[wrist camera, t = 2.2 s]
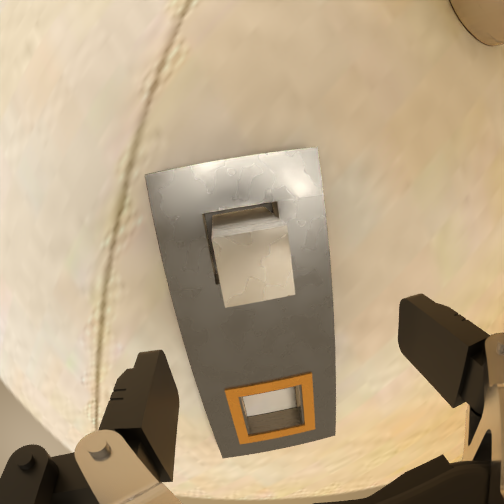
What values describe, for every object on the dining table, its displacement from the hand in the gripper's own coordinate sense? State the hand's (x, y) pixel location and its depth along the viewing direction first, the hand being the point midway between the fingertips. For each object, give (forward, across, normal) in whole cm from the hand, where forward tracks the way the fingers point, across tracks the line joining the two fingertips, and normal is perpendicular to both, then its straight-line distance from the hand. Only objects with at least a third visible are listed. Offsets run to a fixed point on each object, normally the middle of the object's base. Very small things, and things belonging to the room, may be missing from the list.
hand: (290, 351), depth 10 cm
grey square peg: (+16, 0, 0) cm, 16 cm away
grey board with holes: (+16, 0, +8) cm, 18 cm away
